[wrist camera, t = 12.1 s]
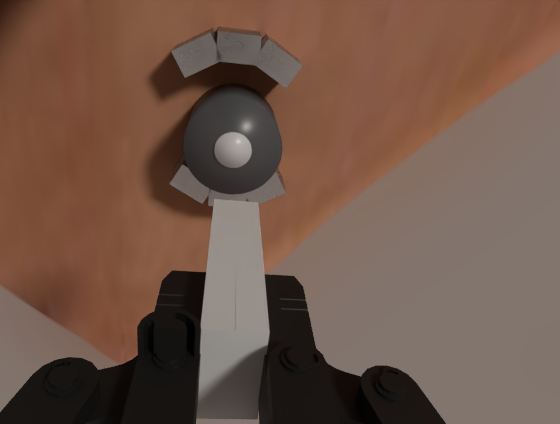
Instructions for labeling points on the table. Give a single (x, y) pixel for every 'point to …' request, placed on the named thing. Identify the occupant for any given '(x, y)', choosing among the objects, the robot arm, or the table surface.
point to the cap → (232, 140)
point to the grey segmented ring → (241, 51)
